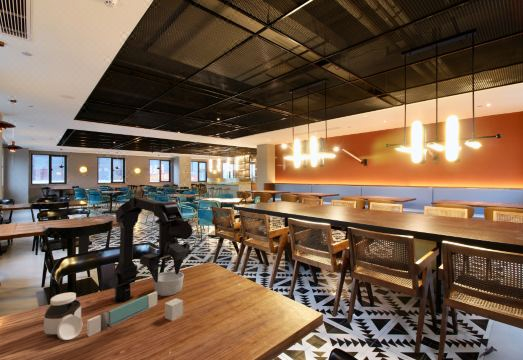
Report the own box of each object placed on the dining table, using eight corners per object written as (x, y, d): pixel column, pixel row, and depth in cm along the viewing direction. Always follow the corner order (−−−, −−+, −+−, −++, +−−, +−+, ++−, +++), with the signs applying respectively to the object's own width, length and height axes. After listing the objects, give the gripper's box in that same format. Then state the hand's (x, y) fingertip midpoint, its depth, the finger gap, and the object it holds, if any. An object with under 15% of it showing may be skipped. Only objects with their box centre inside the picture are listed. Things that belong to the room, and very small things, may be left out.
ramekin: (172, 283, 129) (172, 269, 129) (189, 289, 121) (189, 274, 121) (147, 292, 118) (147, 277, 118) (164, 300, 111) (164, 284, 111)
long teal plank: (110, 324, 91) (110, 312, 91) (108, 323, 91) (108, 311, 91) (147, 307, 103) (147, 296, 103) (145, 306, 104) (145, 295, 104)
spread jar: (63, 322, 93) (64, 290, 93) (94, 323, 93) (95, 290, 93) (33, 343, 81) (33, 306, 81) (68, 344, 81) (69, 307, 81)
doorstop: (164, 318, 97) (165, 303, 97) (175, 312, 101) (175, 298, 101) (172, 321, 94) (172, 306, 94) (182, 315, 99) (183, 300, 99)
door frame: (86, 334, 86) (86, 319, 86) (154, 303, 108) (154, 290, 108) (89, 337, 84) (90, 321, 84) (158, 304, 107) (158, 291, 107)
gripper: (160, 244, 85) (159, 292, 85) (201, 234, 101) (200, 274, 101) (139, 239, 90) (138, 284, 90) (181, 231, 106) (180, 269, 106)
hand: (166, 278), depth 97 cm, fingers open, 9 cm apart
